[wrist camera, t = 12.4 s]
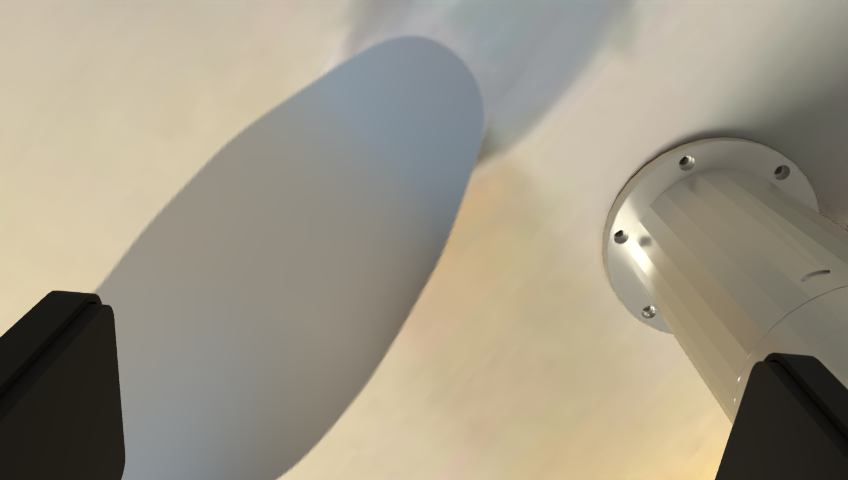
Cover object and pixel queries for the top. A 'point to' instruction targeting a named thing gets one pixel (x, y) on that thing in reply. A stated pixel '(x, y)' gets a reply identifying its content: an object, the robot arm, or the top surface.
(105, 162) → the top surface
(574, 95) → the top surface
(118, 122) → the top surface
